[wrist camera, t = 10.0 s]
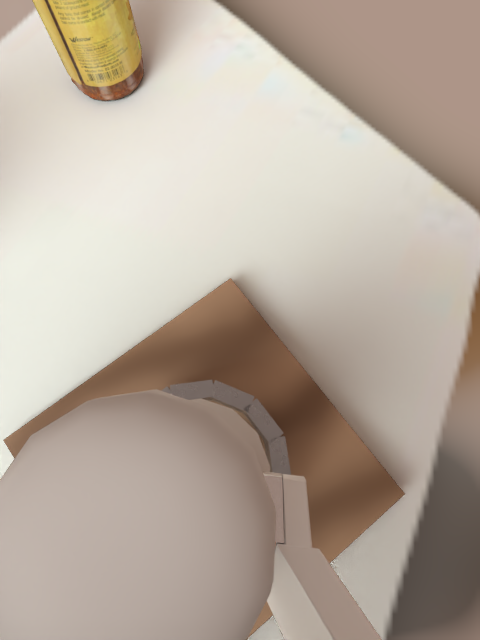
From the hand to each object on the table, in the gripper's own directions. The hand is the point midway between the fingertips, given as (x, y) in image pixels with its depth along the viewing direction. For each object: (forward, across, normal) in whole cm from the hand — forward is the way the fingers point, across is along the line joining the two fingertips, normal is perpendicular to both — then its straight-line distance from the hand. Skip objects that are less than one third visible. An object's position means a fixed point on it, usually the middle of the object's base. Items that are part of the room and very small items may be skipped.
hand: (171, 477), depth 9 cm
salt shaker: (+6, 0, -7) cm, 9 cm away
